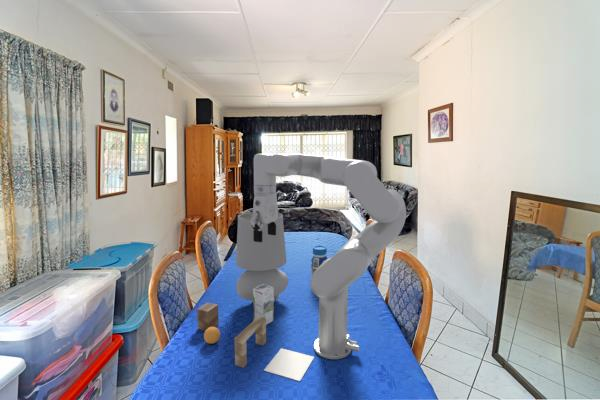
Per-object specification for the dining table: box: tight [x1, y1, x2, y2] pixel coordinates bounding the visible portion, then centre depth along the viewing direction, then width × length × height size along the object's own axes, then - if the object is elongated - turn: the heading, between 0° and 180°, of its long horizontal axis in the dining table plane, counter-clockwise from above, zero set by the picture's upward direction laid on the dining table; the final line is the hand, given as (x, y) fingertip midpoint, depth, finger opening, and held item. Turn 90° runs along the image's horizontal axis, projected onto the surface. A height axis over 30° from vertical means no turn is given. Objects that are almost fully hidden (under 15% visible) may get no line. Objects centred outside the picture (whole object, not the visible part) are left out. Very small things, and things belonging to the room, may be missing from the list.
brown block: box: [196, 302, 220, 332], centre depth 124 cm, size 5×6×8 cm
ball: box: [203, 326, 221, 345], centre depth 113 cm, size 6×6×6 cm
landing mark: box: [263, 347, 315, 382], centre depth 102 cm, size 12×12×1 cm
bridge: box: [233, 316, 267, 368], centre depth 107 cm, size 3×14×9 cm, turn 157°
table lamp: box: [235, 211, 289, 303], centre depth 140 cm, size 23×22×40 cm
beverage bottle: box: [310, 245, 328, 276], centre depth 159 cm, size 8×8×20 cm
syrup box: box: [252, 284, 275, 326], centre depth 126 cm, size 6×6×14 cm
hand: (265, 238), depth 114 cm, fingers open, 9 cm apart
